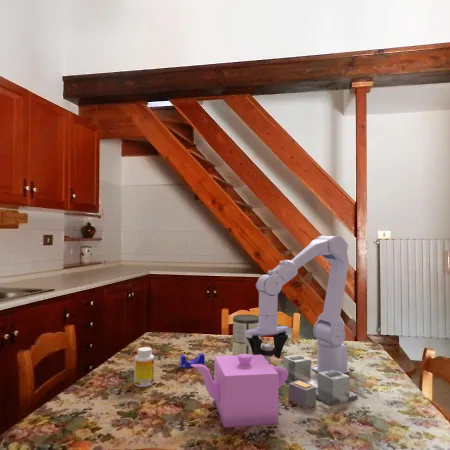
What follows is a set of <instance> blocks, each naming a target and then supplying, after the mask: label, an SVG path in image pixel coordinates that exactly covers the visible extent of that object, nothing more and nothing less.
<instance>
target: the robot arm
mask: <svg viewBox="0 0 450 450" xmlns="http://www.w3.org/2000/svg"><path fill="white" fill-rule="evenodd" d="M348 249H349V244H348V243H347V241H346V240H345V239H344V237H342V236H340V235H335V236H334V235H329V236H328V235H319V236H317V237H316V238H315V239H313V240H311V241H310V243H309V244H307V245H306V246H305V247H304V248H303V250H301V251H300V252H298V253H297V254H296V256H295V257H292V259H291V260H290V259H284V260H280V261H279V263H278V264H277V266H275V267H274V268H273V269H269V270H268V271H267V274H263V275H260V277H258V279H257V281H256V283H255V288H256V289H257V291H258V316H259V325H258V328H254V329H251V330H246V337H247V340H248V341H249V344H250V346H251V349H252V352H253V355H260V348H261V345H262V344H263V340H262V338H261V339H259V338H258V336H261V337H265V336H272V338H273V347H274V348H275V349H276V351H275V355H274V358H278V359H281V356H282V351H283V350H284V347H285V345H286V342H287V341H288V339H289V335H288V334H289V333H290V332H289V326H285V325H282V326H281V325H280V326H279V325H278V307H279V306H278V302H279V301H278V296H279V294H280V292H281V290H282V287H283V286H284V285H286V284H287V283H288V282H289V281H291V280H292V279H293V278H294V277H296V276H297V275H298V270H299V269H300V268H301V267H303V266H304V265H305V264H307V263H308V262H310V261H311V260H312V259H314V258H315V257H317V256H322V257H323V258H324V259H325V260H326V261H327V262H328V264H329V265H330V268H329V269H330V270H329V274H328V275H329V276H328V281H327V287H326V291H325V292H326V293H325V297H324V298H325V299H324V305H323V312H321V314H319V315H318V316H317V320H316V322H315V324H314V325H313V331H312V332H313V335H314V337H316V343H317V344H316V345H317V348H316V349H317V351H316V352H317V357H316V358H317V359H316V362H317V363H316V366H313V367H312V366H311V370H313V371H315V372H317V373H319V372H324V371H329V370H336V371H339V372H341V373H343V374H347V373H350V370H349V369H348V367H349V365H348V363H349V361H348V358H349V357H348V356H349V351H348V348H347V346H346V345H345V343H344V341H345V339H346V332H345V331H346V330H345V325H346V323H345V322H344V319H343V318H342V316H341V315H342V313H341V312H342V308H343V300H344V295H345V287H346V282H347V276H348V270H349V263H350V262H349V255H348Z"/></svg>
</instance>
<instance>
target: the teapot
mask: <svg viewBox="0 0 450 450" xmlns="http://www.w3.org/2000/svg"><path fill="white" fill-rule="evenodd" d="M270 363H271V362H270ZM270 363H269V362H268V361H267V360H266V359H265V358H264V356H262V355H249V354H240V355H238V356H233V355H216V356H214V379H213V378H212V375H211V373H210V372H211V371H210V370H209V368H208V367H207V366H206V365H202V364H192V365H191V366H192V367H193V368H195V369H196V370H197V371H198V372H199V373H200V374H201V375H202V379H203V382H204V386H205V389H206V391H207V393H208V395H209V396H210V397H211V399H212V400H213V401H214V404H215V407H216V409H217V412H218V416H219V418H220V420H221V423H222V427H223V428H233V427H235V428H236V427H247V426H248V427H249V426H250V427H251V426H252V427H253V426H264V425H265V426H267V425H279V398H280V397H279V391H280V389H279V388H280V387H281V386H283V385H284V383H285V382H286V379H287V377H288V371H287V370H286V369H285V368H283V366H278V365H277V366H275V365H272V364H271V365H270ZM277 372H278V373H279V374H278V373H277Z"/></svg>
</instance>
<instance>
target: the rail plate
mask: <svg viewBox="0 0 450 450" xmlns="http://www.w3.org/2000/svg"><path fill="white" fill-rule="evenodd" d="M282 358H283V360H282V368H285V369H286V370H287V371H288V377H287V379H286V381H285V382H286V383H288V384H289V383H292V382H295V381H298V380H300V381H302V382H305V383H307V384H310V385H312V386H315V387H316V400H317V399H318V400H319V401H321V402H323V403H324V404H326V405H328V406H333V405H337V404H342V403H345V402H348V401H353V400H357V399H359V398H358V397H359V396H358V394H357V393H355V392H353V391H351V390H350V383H351V382H350V381H351V379H350V378H351V376H350V375H348V374H347V373H341V372H339V371H336V370H329V371H324V372H317V374H315V373H312V372H311V371H312V369H311V368H312V365H311V364H312V360H311V359H310V358H309V357H305V356H304V355H302V354H299V353H297V354H291V355H285V356H282ZM277 373H278V372H277ZM278 374H279V373H278Z"/></svg>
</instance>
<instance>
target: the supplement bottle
mask: <svg viewBox="0 0 450 450" xmlns="http://www.w3.org/2000/svg"><path fill="white" fill-rule="evenodd" d="M152 353H153V352H152V347H150V346H149V347H148V346H144V347H143V346H142V347H139V348H137V355H135V357H134V367H133V369H134V374H133V376H134V377H133V378H134V379H133V380H134V381H133V383H134V385H135V386H136V387H138V388H148V387H151V386H152V385H153V384H154V377H155V376H154V375H155V371H154V370H155V356H154V354H152Z"/></svg>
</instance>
